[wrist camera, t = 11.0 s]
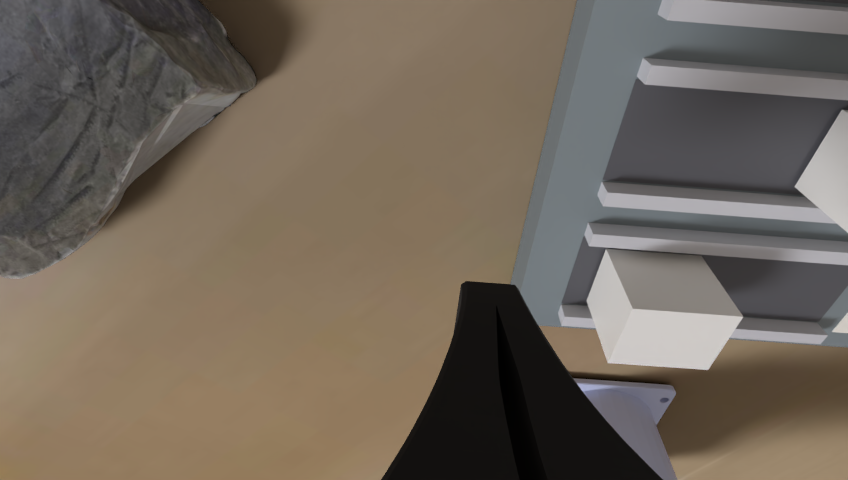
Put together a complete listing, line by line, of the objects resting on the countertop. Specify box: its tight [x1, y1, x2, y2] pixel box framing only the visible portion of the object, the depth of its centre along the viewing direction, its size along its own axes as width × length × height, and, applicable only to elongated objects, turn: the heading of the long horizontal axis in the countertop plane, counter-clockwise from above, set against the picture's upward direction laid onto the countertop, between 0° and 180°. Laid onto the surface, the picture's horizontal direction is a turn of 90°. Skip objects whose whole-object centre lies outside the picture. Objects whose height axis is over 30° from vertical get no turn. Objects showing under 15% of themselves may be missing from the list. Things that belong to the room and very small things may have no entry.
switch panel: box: [511, 0, 848, 347], centre depth 18 cm, size 20×18×3 cm
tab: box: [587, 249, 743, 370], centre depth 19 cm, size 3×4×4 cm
